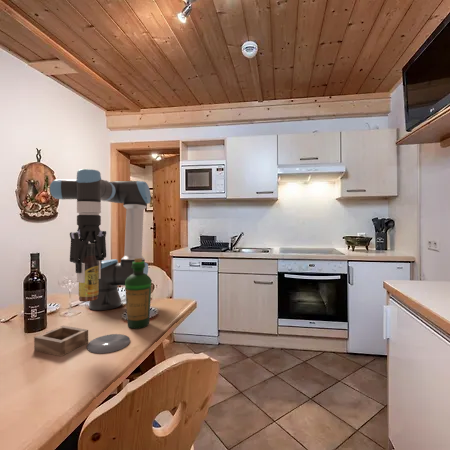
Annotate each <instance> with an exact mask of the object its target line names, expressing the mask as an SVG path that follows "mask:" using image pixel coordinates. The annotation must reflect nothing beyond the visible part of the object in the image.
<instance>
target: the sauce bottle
mask: <svg viewBox="0 0 450 450" xmlns="http://www.w3.org/2000/svg"><path fill="white" fill-rule="evenodd" d="M95 247H96V246H95V243H90V242H89V243H88V244H87V247H86V251H85V255H84V259H83V263H85V283H80V282H78V300H79V301H80V302H84V303H87V302H88V303H89V302H90V301H94V300H96V299H97V298H98V294H99V266H98V263H97V260H96V257H95Z"/></svg>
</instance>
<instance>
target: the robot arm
mask: <svg viewBox="0 0 450 450" xmlns="http://www.w3.org/2000/svg"><path fill="white" fill-rule="evenodd" d="M101 175H102V173H101V172H100V171H99V170H97V169H90V168H81V169H78V170H77V171H76V179H62V178H61V179H53V180H52V181H51V182H50V185H49V189H50V190H49V192H50V195H51V196H52V197H53V198H54V199H56V200H76V213H77V215H76V225H77V227H78V228H77V229H76V231H71V232H69V237H70V247H69V248H70V250H69V262H71V263H73V264H75V265H74V266H75V273H76V282H77V283H79V282H80V283H85V263H83V259H84V255H85V251H86V247H87V244H88V243H95V246H96V247H95V257H96V260H97V263H98V266H99V294H98V298H97V299H96V300H94V301H89V302H88V303H89V304H88V308H89V309H90V310H93V311H105V310H106V311H108V310H112V309H116V308H118V307H120V306H121V305H122V298H121V296H120V293H119V288H118V287H119V286H122V287H125V280H126V279H127V277H129V276H130V275H131V274H133V268H132V262H134V261H135V260H134V259H135V258H142V261H144V263H145V267H144V272H143V273H145V274H146V275H148V276H149V274H148V273H149V263H147V262H145V260H146V258H145V257H143V239H144V238H143V233H144V232H143V231H144V211H145V209H147V205H148V204H151V199H152V197H151V191H150V187H149V184H148V183H147V182H146V181H140V180H115V181H108V180H104V179H102V176H101ZM101 201H102V202H109V203H115V204H123V205H122V206H123V208H124V209H126V211H125V213H126V214H125V232H124V252H123V253H124V255H123V257H122V258H121V259H120V262H119V261H118V259H115V258H114V259H112V258H111V259H106V260H105V258H107V243H106V242H107V241H106V236H107V231H106V230H101V229H100V226H101V224H102V219H101V218H102V216H101V215H100V214H101V213H102V210H101V209H102V206H101V205H102V202H101Z"/></svg>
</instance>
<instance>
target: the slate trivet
mask: <svg viewBox="0 0 450 450" xmlns="http://www.w3.org/2000/svg"><path fill="white" fill-rule="evenodd" d="M130 339H131V338H130V336H127V335H125V334H120V333H119V334H118V333H112V334H105V335H102V336H98V337H95V338H93V339H92V340H90V341H88V343H87V344H86V349H87V351H89V352H90V353H93V354H110V353H114V352H118V351H120V350H122V349H124V348H126V347H128V346H129V344H130V343H131V340H130Z"/></svg>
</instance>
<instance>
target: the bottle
mask: <svg viewBox="0 0 450 450" xmlns="http://www.w3.org/2000/svg"><path fill="white" fill-rule="evenodd" d="M134 260H135V261H134V262H132V268H133V274H131V275H130V276H129V277H127V279H126V280H125V286H124V289H125V303H126V319H127V327H128V328H129V329H135V330H136V329H143V328H145V327H147V326H148V325H150V316H151V315H150V314H151V299H152V297H151V296H152V295H151V294H152V283H153V282H152V279H151V277H150V275H149V274H148V275H146V274H145V273H143V272H144V267H145V263H144V261H142V258H135V259H134Z"/></svg>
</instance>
